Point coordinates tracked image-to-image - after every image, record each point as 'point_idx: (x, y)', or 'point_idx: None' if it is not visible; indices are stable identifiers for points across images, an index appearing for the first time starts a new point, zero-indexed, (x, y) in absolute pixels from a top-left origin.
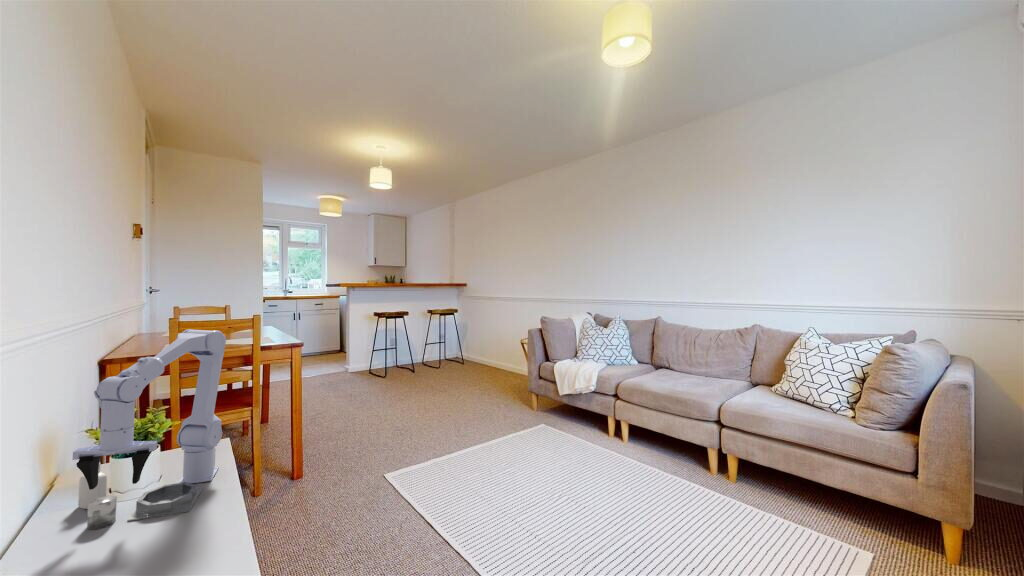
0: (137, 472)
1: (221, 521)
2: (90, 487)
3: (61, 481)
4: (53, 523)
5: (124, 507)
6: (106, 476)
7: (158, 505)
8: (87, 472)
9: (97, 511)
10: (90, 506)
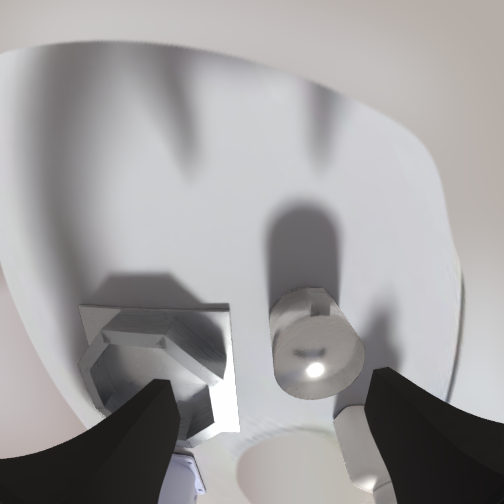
0: (107, 417)
1: (8, 217)
2: (390, 371)
3: None
4: (416, 352)
5: (278, 399)
6: (351, 481)
7: (136, 330)
8: (462, 429)
9: (316, 305)
10: (351, 330)
